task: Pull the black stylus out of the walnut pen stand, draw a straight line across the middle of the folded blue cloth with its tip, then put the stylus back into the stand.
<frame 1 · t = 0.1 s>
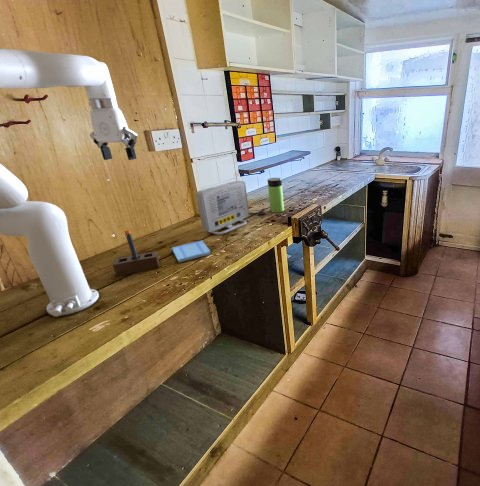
hand: (120, 159, 108), 37 cm above the workbench, tool pointing down, fingers open, 9 cm apart
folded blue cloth: (191, 252, 125), on the workbench
stylus: (133, 250, 110), in the pen stand
network device: (228, 227, 150), on the workbench
pen stand: (138, 268, 113), on the workbench
tumbler: (277, 210, 171), on the workbench
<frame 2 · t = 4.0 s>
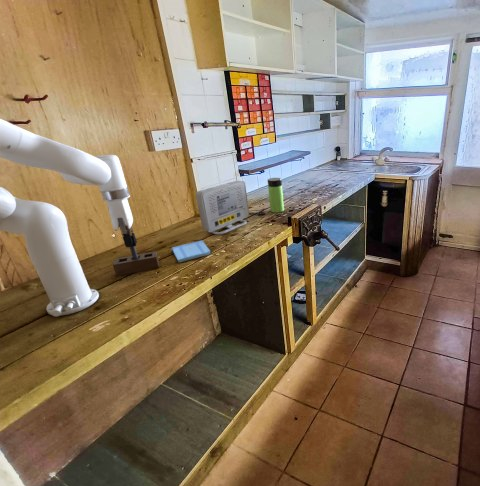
hand: (131, 244, 109), 10 cm above the workbench, tool pointing down, fingers closed on stylus, 1 cm apart
stylus: (133, 250, 110), in the pen stand, touching gripper
everything else where it was.
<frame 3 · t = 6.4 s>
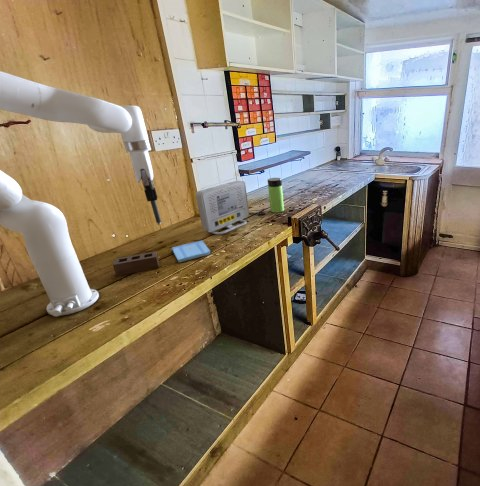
hand: (152, 199, 111), 23 cm above the workbench, tool pointing down, fingers closed on stylus, 1 cm apart
stylus: (154, 204, 112), point 21 cm above the workbench, touching gripper
everything else where it was.
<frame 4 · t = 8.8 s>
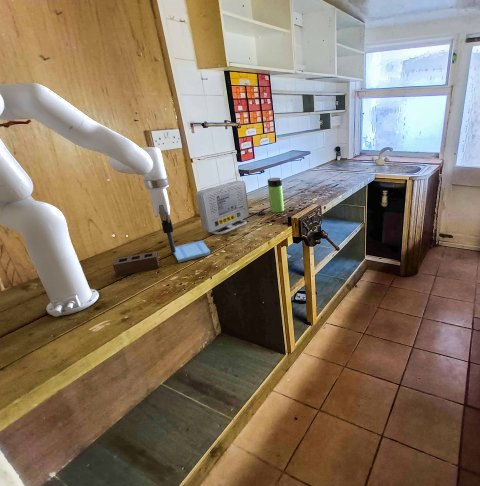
hand: (168, 231, 118), 10 cm above the workbench, tool pointing down, fingers closed on stylus, 1 cm apart
stylus: (169, 236, 119), point 8 cm above the workbench, touching gripper
everything else where it was.
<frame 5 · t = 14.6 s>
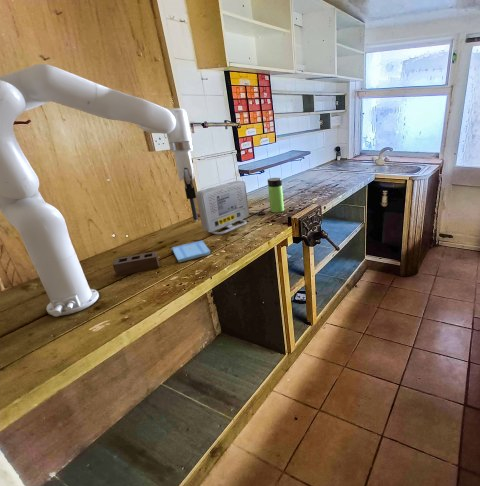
hand: (191, 197, 117), 22 cm above the workbench, tool pointing down, fingers closed on stylus, 1 cm apart
stylus: (192, 202, 118), point 20 cm above the workbench, touching gripper
everything else where it was.
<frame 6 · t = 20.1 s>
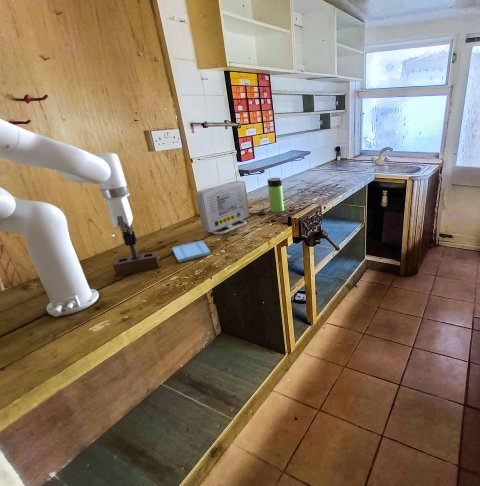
hand: (131, 243, 109), 10 cm above the workbench, tool pointing down, fingers closed on stylus, 1 cm apart
stylus: (133, 248, 110), in the pen stand, point 8 cm above the workbench, touching gripper
everything else where it was.
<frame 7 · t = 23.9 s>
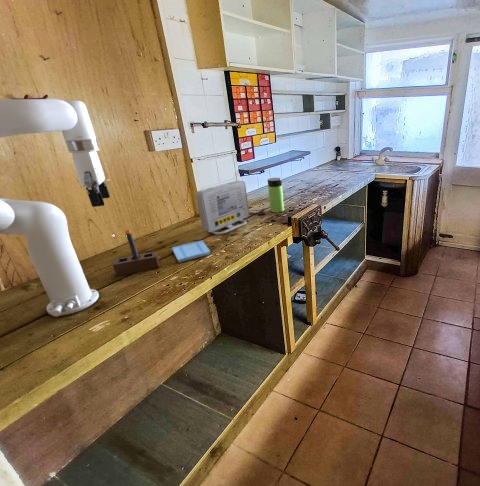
hand: (101, 201, 99), 26 cm above the workbench, tool pointing down, fingers open, 9 cm apart
stylus: (133, 249, 110), in the pen stand
everything else where it was.
at the end: stylus 0.3 cm off-centre in the pen stand, point 7.5 cm above the pen stand's base; stylus tilted 0°; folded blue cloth moved 0.0 cm from its start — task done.
